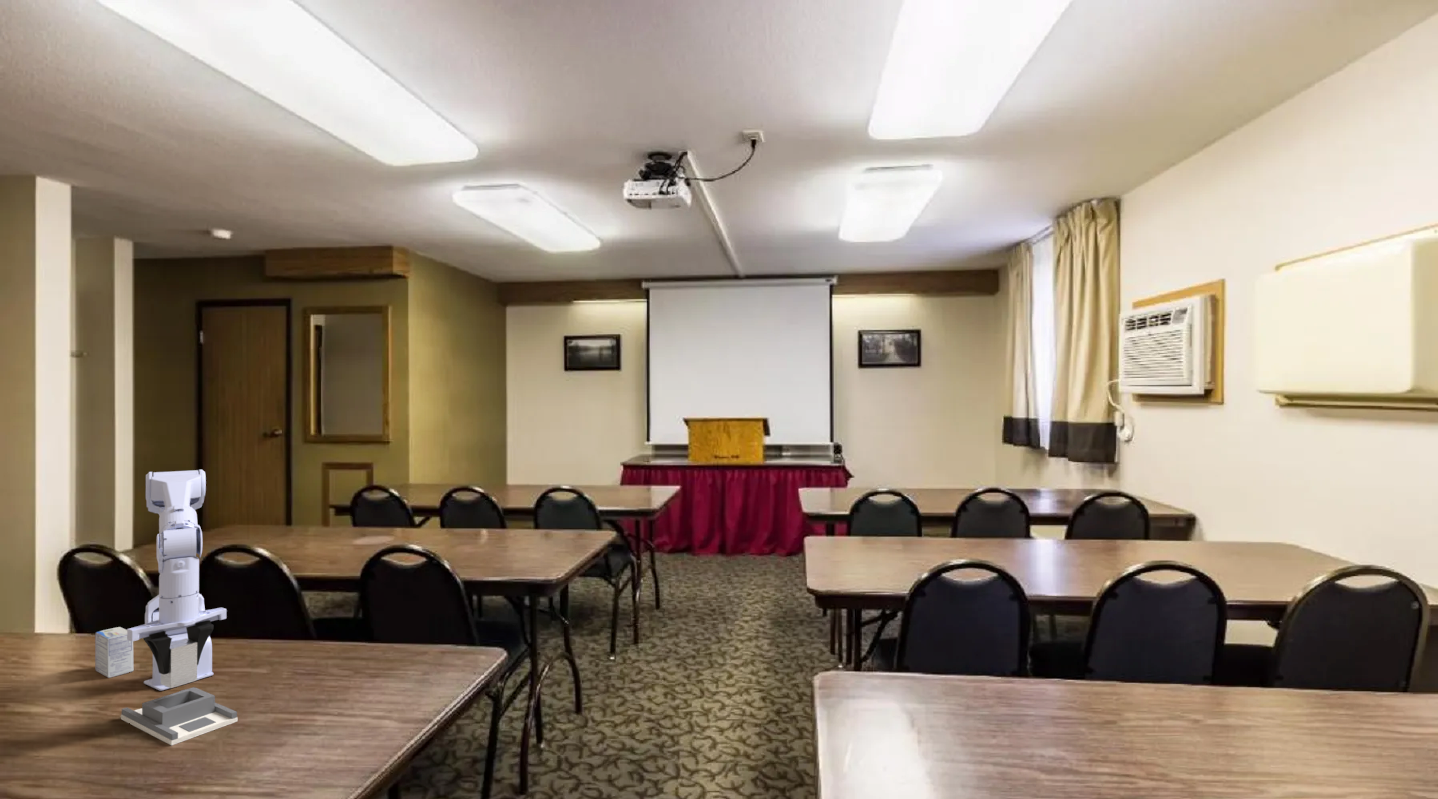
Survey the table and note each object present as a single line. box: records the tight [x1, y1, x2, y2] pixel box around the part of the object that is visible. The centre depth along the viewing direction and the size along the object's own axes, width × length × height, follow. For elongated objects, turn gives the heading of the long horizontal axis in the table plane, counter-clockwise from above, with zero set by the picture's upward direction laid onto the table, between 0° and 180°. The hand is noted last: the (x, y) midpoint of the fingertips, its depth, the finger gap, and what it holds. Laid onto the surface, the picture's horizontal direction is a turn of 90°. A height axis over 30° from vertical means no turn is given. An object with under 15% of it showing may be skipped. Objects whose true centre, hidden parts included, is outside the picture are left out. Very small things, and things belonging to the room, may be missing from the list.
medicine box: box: [94, 626, 134, 679], centre depth 146 cm, size 8×4×9 cm, turn 58°
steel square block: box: [161, 639, 198, 689], centre depth 123 cm, size 4×4×7 cm
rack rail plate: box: [120, 687, 239, 746], centre depth 123 cm, size 10×20×4 cm, turn 60°
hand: (178, 668), depth 123 cm, fingers closed on steel square block, 4 cm apart
